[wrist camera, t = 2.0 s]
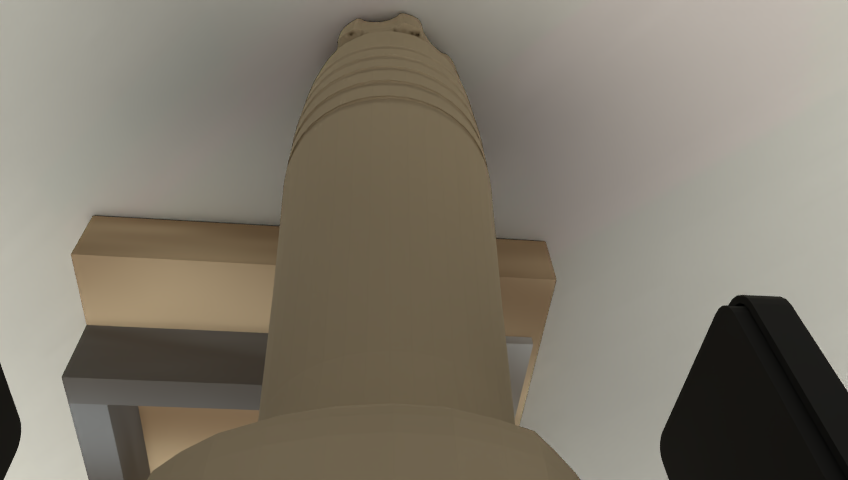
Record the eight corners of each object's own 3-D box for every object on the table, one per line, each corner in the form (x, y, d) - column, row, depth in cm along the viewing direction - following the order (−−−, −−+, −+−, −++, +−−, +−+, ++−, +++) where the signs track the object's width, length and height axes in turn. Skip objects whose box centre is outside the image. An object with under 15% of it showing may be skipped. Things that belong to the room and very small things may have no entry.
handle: (318, 188, 21) (220, 871, 9) (264, -49, 17) (-41, 575, 5) (491, 168, 21) (635, 837, 9) (474, -76, 17) (688, 504, 5)
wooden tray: (480, 520, 30) (489, 612, 27) (150, 512, 29) (122, 607, 26) (545, 241, 22) (570, 329, 19) (93, 215, 21) (42, 304, 18)
